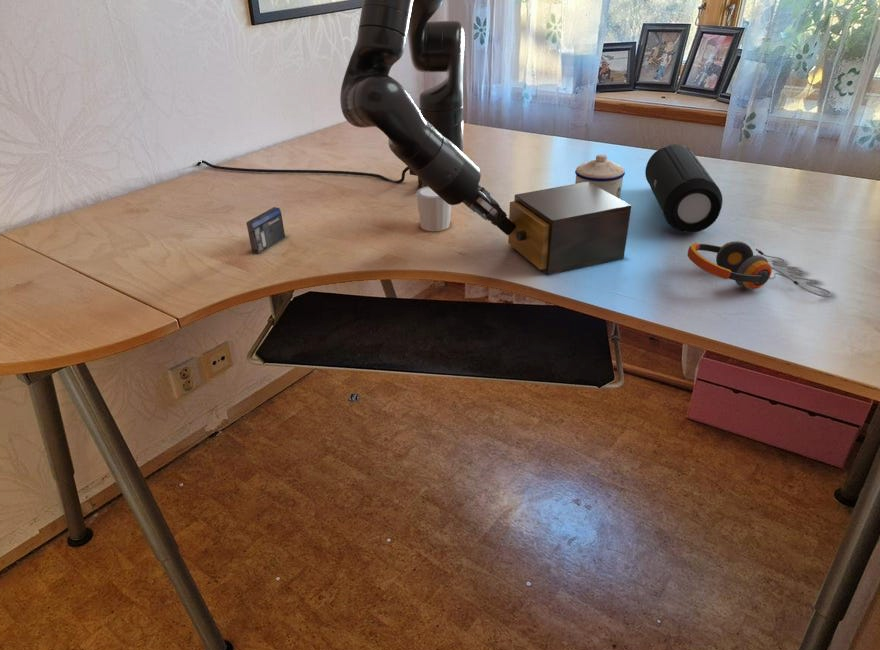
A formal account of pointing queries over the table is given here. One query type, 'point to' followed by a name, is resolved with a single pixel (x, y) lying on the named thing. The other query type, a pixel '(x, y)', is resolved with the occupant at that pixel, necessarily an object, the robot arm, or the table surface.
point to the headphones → (743, 265)
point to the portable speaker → (683, 189)
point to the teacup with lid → (601, 174)
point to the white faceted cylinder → (433, 210)
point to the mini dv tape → (265, 230)
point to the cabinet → (580, 225)
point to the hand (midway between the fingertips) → (510, 229)
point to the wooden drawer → (529, 234)
